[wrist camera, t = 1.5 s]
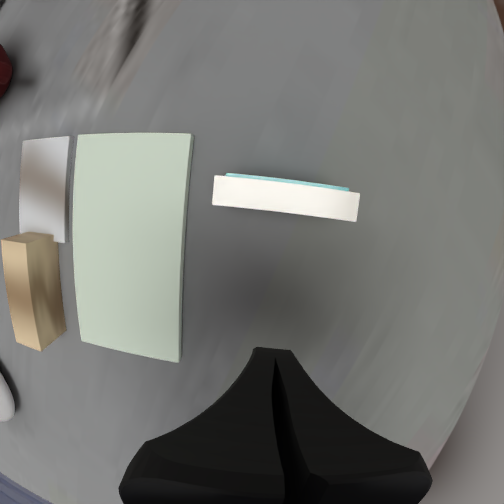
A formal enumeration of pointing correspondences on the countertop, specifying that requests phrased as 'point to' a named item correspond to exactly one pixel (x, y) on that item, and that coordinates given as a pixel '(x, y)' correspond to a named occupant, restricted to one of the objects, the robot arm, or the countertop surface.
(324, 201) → the tile
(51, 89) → the countertop surface
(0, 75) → the mug
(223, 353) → the countertop surface
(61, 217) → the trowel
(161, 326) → the mat
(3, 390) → the flower in vase
